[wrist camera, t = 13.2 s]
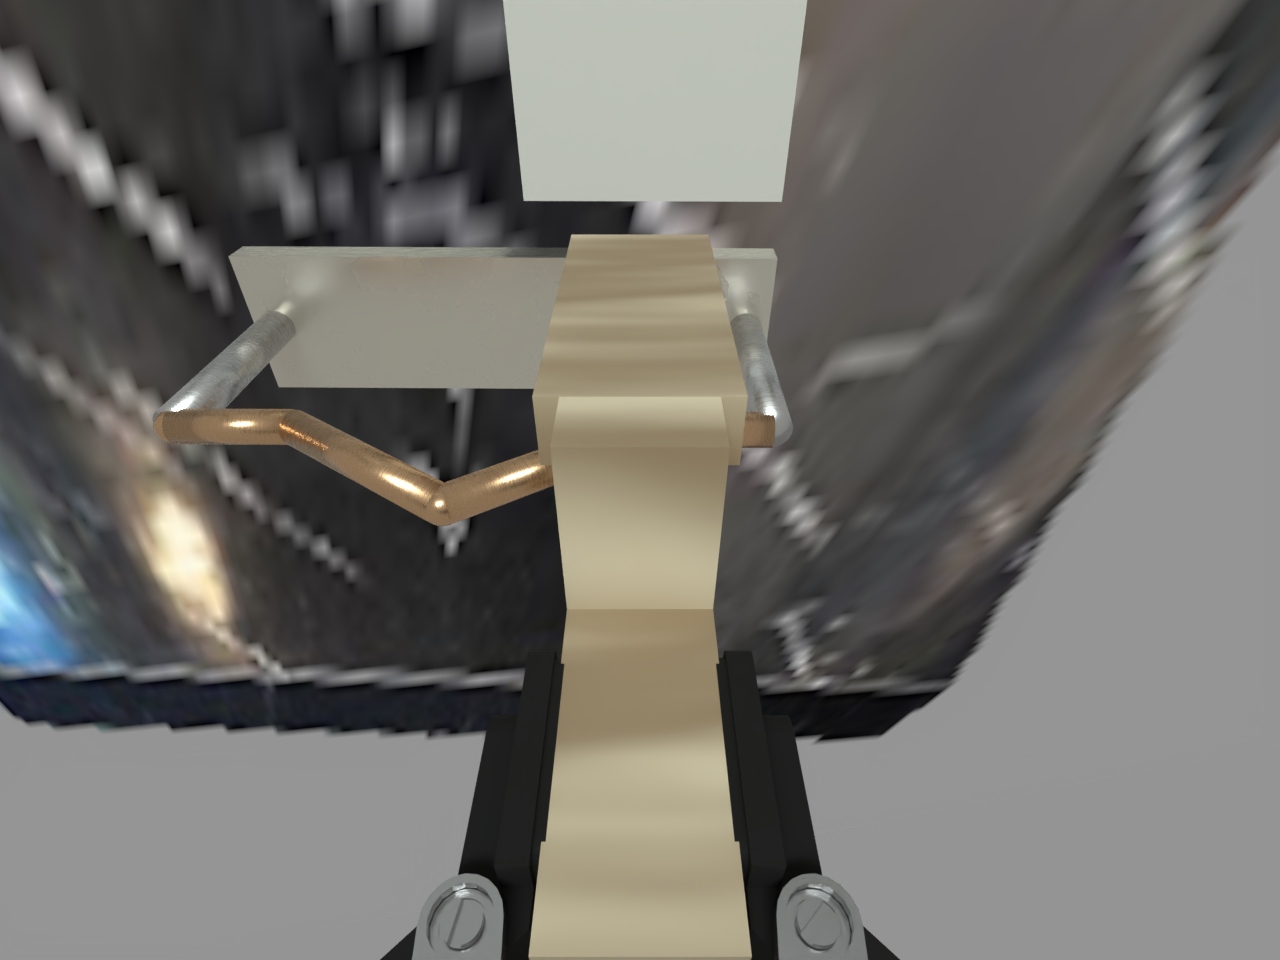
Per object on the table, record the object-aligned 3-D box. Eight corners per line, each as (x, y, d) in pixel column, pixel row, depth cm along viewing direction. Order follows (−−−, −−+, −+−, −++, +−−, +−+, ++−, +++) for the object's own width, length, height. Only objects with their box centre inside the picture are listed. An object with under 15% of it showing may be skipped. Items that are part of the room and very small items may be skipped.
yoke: (571, 234, 19) (430, 815, 6) (708, 234, 19) (849, 815, 6) (589, 519, 26) (541, 1071, 13) (690, 519, 26) (739, 1072, 13)
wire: (242, 246, 27) (-19, 426, 17) (773, 248, 27) (853, 432, 16) (290, 374, 31) (100, 589, 20) (757, 376, 31) (814, 595, 20)
